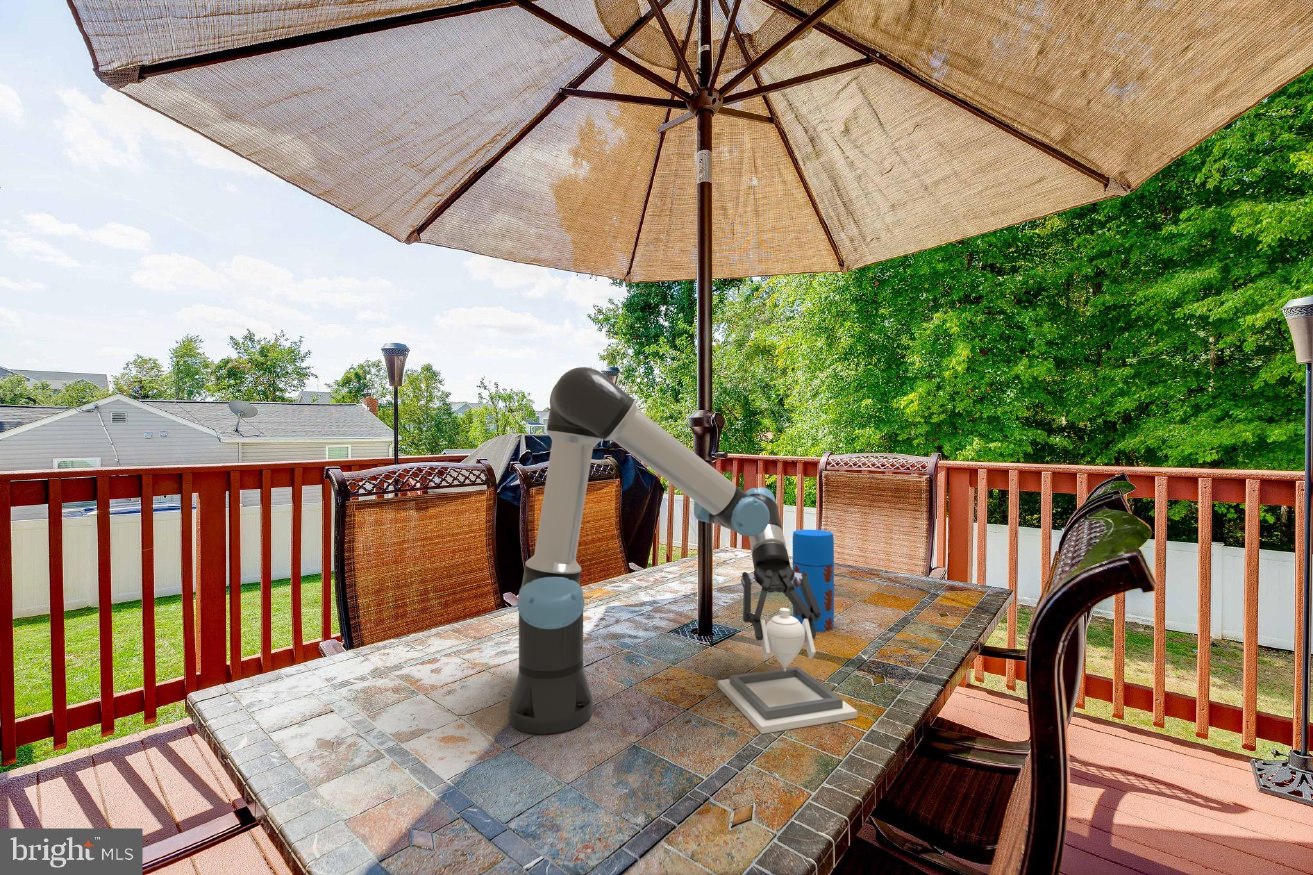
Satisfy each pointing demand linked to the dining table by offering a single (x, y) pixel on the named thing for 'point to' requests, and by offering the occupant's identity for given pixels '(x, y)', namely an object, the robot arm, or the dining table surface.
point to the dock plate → (784, 699)
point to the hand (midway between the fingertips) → (789, 655)
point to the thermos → (816, 572)
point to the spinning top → (785, 637)
